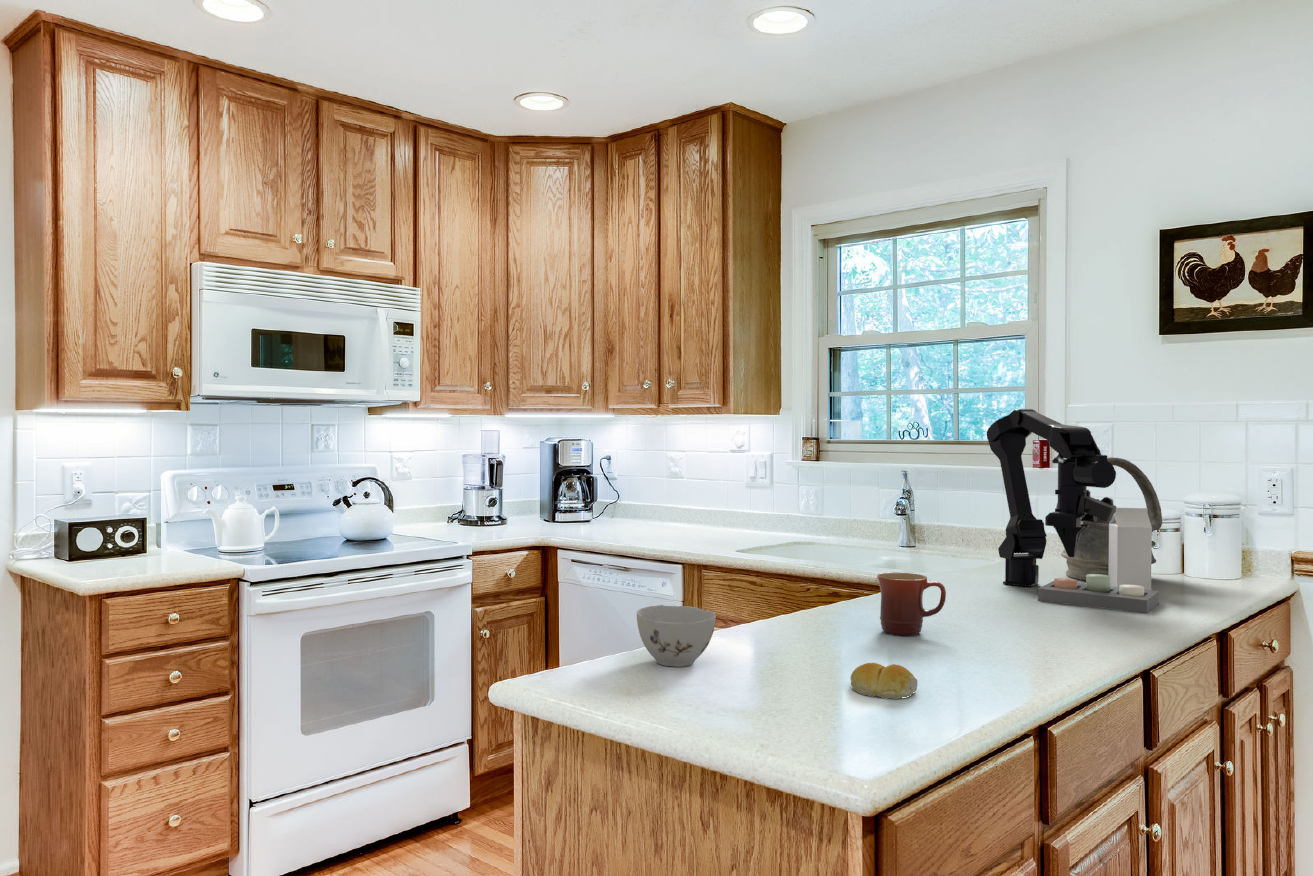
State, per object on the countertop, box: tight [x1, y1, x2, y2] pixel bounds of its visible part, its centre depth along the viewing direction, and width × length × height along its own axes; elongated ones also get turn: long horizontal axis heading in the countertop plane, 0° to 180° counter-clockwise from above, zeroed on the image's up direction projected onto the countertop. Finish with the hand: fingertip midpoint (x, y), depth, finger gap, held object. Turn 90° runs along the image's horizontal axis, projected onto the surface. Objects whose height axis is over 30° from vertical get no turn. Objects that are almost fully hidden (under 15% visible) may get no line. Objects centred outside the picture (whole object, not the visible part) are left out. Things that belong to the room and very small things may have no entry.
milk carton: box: [1108, 507, 1153, 590], centre depth 210 cm, size 7×7×19 cm
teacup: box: [636, 604, 717, 668], centre depth 146 cm, size 15×12×8 cm
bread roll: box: [850, 662, 918, 699], centre depth 130 cm, size 8×9×4 cm
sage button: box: [1085, 574, 1110, 592], centre depth 197 cm, size 5×5×3 cm
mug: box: [876, 571, 947, 637], centre depth 166 cm, size 12×9×10 cm
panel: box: [1037, 580, 1160, 614], centre depth 197 cm, size 21×13×3 cm, turn 52°
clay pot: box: [1055, 456, 1163, 582], centre depth 229 cm, size 22×23×30 cm
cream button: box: [1119, 585, 1144, 597], centre depth 193 cm, size 5×5×3 cm
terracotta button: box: [1053, 577, 1078, 589], centre depth 201 cm, size 5×5×3 cm
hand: (1071, 557), depth 200 cm, fingers closed
